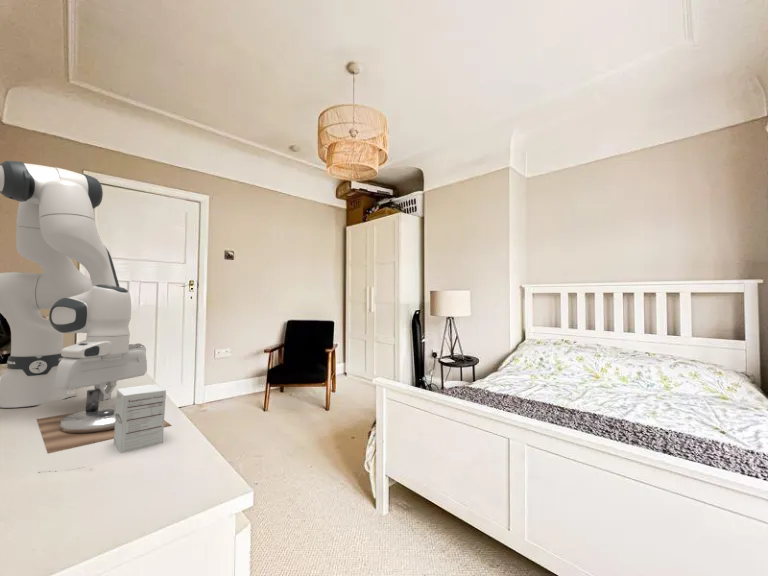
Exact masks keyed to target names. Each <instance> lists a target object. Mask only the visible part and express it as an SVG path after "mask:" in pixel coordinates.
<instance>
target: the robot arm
mask: <svg viewBox="0 0 768 576" xmlns="http://www.w3.org/2000/svg"><path fill="white" fill-rule="evenodd" d="M103 193H104V191H103V186H102V184H101V182H100V181H99V180H98V179H97V178H96V177H93V176H91V175H89V174H85V173H78V172H75V171H72V170H69V169H65V168H61V167H55V166H48V165H41V164H34V163H27V162H26V163H24V162H23V161H17V160H4V161H3V162H1V163H0V194H1V195H2V196H4V197H5V198H7V199H10V200H12V201H13V200H14V201H17V202H19V204H18V207H17V212H16V213H17V214H16V222H15V223H16V224H15V225H16V226H15V228H16V229H15V231H16V232H15V234H16V235H15V239H16V240H15V242H16V244H15V249H16V251H17V253H18V254H19V255H20V256H21V257H22V258H24V259H26V260H28V261H31V262H33V263H36V264H37V265H39V267H41V269H42V271H43V272H42V273H41V272H39V273H38V272H18V271H10V272H8V271H7V272H0V314H1V315H2V316H3V318H4V319H6V322H7V324H8V325H9V328H10V341H11V344H10V347H11V348H10V355H9V356H8V357H7V361H6V364H7V366H6V368H7V369H8V370H6V372H4V373H3V374H2V375H1V376H0V408H3V409H4V408H5V409H7V408H8V409H10V408H25V407H31V406H32V407H33V406H40V405H42V404H44V403H47V402H50V401H59V400H60V401H61V400H65V399H67V398H71V397H75V396H76V395H77V394H76V391H74V390H78V389H82V388H83V389H84V388H87V387H92V386H93V389H98V390H100V392H99V402H104V401H107V400H111V398H112V393H113V391H114V390H115V388H116V386H117V382H118V381H123V380H129V379H133V378H138V377H143V376H145V374H146V373H147V372H148V363H147V362H148V360H147V355H146V353H147V349H146V346H145V345H144V344H142V343H132V344H131V343H130V338H131V337H130V336H131V334H130V333H131V332H130V330H129V325H130V321H131V319H132V318H131V317H132V298H131V295H130V291H129V290H127V288H124V287H121V286H120V284H119V280H118V275H117V272H116V269H115V265H114V262H113V259H112V256H111V254H110V251H109V249H107V247H106V246H105V245H104V243H103V241H102V239H101V237H100V234H99V232H98V230H97V225H96V218H95V213H94V209H96V208H97V207H99V206H100V205H101V203H102V200H103V196H104V194H103ZM73 260H74V261H76V262H77V263H79V264H80V265H82V267H84V268H85V269H86V271H87V272H88V274H89V277H88V276H86V275H85V274H83V272H81V271H80V270H79V269H78V268H77V266H75V264H74V262H73ZM43 309H44V310H49V314H48V319H46V318H45V317H43V315H42V313H41V310H43ZM65 334H86V339H85V340H81V341H80V342H77V343H73V344H72V345H68V346H66V347H64V337H65ZM104 388H105V389H104Z"/></svg>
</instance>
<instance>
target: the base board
mask: <svg viewBox="0 0 768 576" xmlns="http://www.w3.org/2000/svg"><path fill="white" fill-rule="evenodd" d="M77 412H78V411H76V412H72V413H71V412H70V413H65V414H64V413H63V414H59V415H52V416H47V417H41V418H36V422H37V425H38V428H39V429H38V430H39V431H40V434H41V438H42V440H43V443H44V447H45V449H46V453H47V454H52V453H56V452H61V451H66V450H70V449H75V448H79V447H83V446H89V445H92V444H96V443H102V442H106V441H109V440H114V430H115V429H111V430H105V431H99V432H90V433H68V432H64V431H62V430H61V429H60V425H61V420H62V419H63V418H65V417H67V416H69V415H71V414H74V413H77ZM172 426H173V425H172V424H171V423H169V422H167V421H166V420H165V419H164V428H167V427H168V428H169V427H172Z"/></svg>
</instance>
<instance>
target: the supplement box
mask: <svg viewBox="0 0 768 576" xmlns="http://www.w3.org/2000/svg"><path fill="white" fill-rule="evenodd" d="M166 393H167V390H166V389H165V388H163V387H162V386H160V385H158V384H156V383H154V384H145V385H138V386H137V385H136V386H129V387H122V388H117V389H116V402H115V404H116V416H115V430H114V439H113V444H114V446H115V447H116V449H117V450H118V452H119V453H120V454H122V453H126V452H132V451H135V450H139V449H142V448H143V449H144V448H148V447H152V446H156V445H159V444H163V443H164V429H165V427H164V420H165V414H166V413H165V411H166Z"/></svg>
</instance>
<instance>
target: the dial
mask: <svg viewBox="0 0 768 576" xmlns="http://www.w3.org/2000/svg"><path fill="white" fill-rule="evenodd" d="M99 392H100V390H98V389H95V388H93V389H88V390H86V400H85V401H86V403H85V409H84V410H82V411H76V412H77V413H75V412H73V413H74V414H71V415H69V416H67V417H65V418H63V419H62V420H61V425H60V429H61V430H62V431H64V432H68V433H90V432H99V431H105V430H111V429H115V416H116V405H115V404H114V405H108V406H107V405H106V406H100V407H99V405H100V403H99V402H100V401H99Z"/></svg>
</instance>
